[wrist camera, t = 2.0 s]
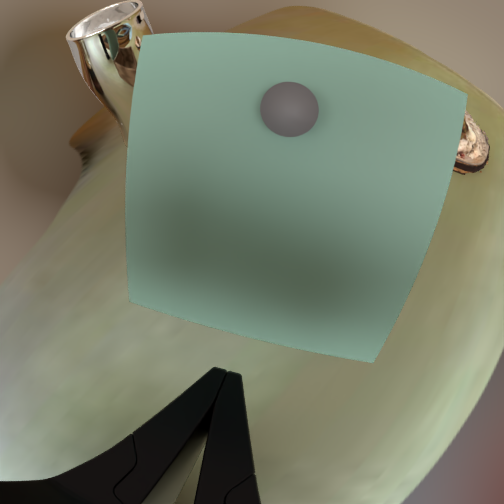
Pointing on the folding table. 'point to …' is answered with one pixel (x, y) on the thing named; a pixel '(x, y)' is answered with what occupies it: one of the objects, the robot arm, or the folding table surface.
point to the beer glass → (111, 55)
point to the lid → (283, 186)
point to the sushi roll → (471, 148)
